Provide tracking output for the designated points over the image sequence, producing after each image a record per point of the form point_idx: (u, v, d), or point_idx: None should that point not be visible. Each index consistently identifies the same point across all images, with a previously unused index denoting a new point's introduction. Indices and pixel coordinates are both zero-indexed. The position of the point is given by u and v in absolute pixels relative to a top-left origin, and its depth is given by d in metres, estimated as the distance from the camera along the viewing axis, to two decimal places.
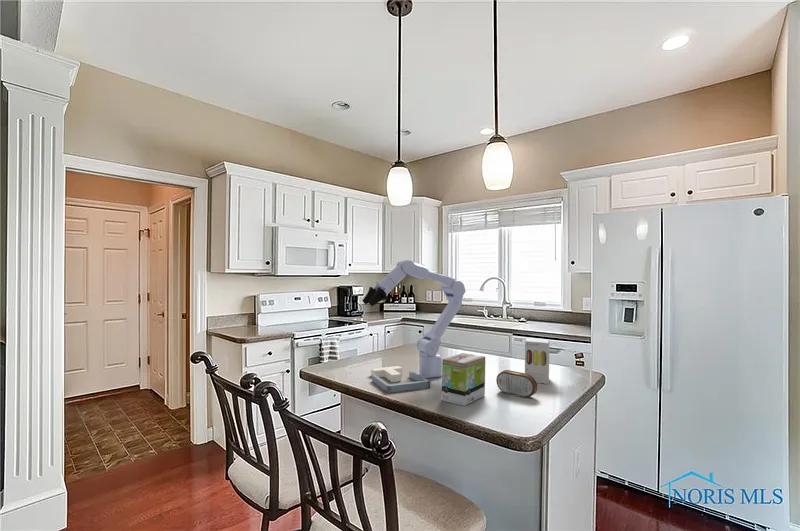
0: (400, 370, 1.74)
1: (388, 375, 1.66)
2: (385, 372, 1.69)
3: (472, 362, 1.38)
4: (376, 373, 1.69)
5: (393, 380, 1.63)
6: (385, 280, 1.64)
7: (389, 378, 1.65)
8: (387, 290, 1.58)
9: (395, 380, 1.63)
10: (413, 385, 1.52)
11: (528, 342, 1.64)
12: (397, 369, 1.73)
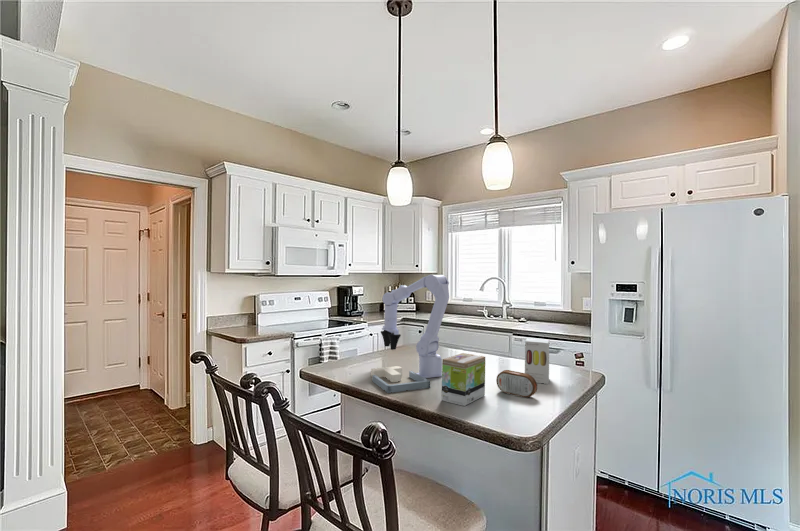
0: (400, 370, 1.74)
1: (388, 375, 1.66)
2: (385, 372, 1.69)
3: (472, 362, 1.38)
4: (376, 373, 1.69)
5: (393, 380, 1.63)
6: (387, 323, 1.82)
7: (389, 378, 1.65)
8: (396, 332, 1.78)
9: (395, 380, 1.63)
10: (413, 385, 1.52)
11: (528, 342, 1.64)
12: (397, 369, 1.73)
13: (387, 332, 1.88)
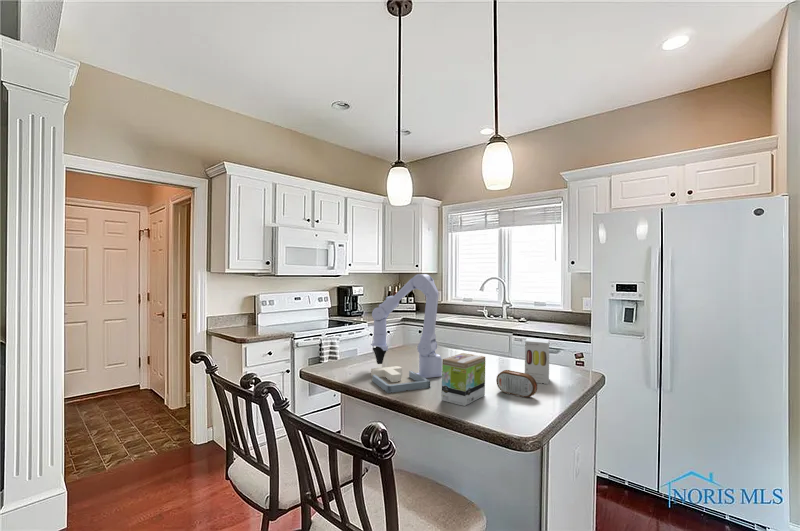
0: (400, 370, 1.74)
1: (388, 375, 1.66)
2: (385, 372, 1.69)
3: (472, 362, 1.38)
4: (376, 373, 1.69)
5: (393, 380, 1.63)
6: (376, 338, 1.79)
7: (389, 378, 1.65)
8: (385, 348, 1.74)
9: (395, 380, 1.63)
10: (413, 385, 1.52)
11: (528, 342, 1.64)
12: (397, 369, 1.73)
13: None
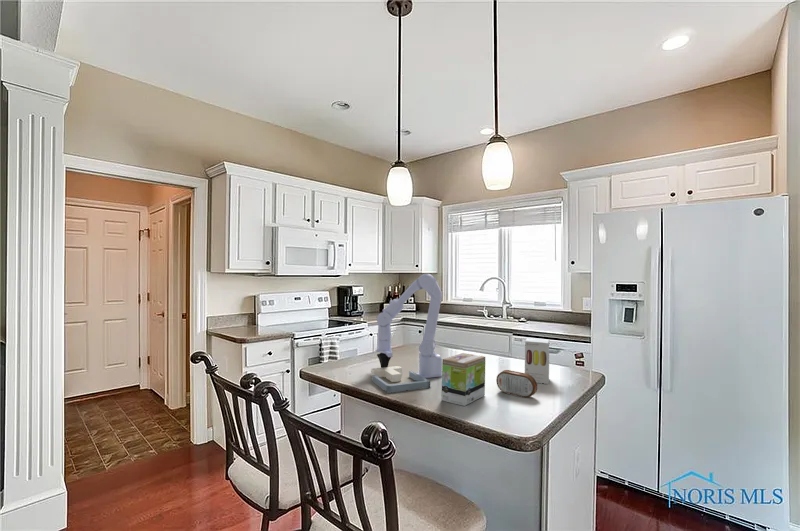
0: (400, 370, 1.74)
1: (388, 375, 1.66)
2: (385, 372, 1.69)
3: (472, 362, 1.38)
4: (376, 373, 1.69)
5: (393, 380, 1.63)
6: (381, 344, 1.74)
7: (389, 378, 1.65)
8: (389, 354, 1.69)
9: (395, 380, 1.63)
10: (413, 385, 1.52)
11: (528, 342, 1.64)
12: (397, 369, 1.73)
13: None
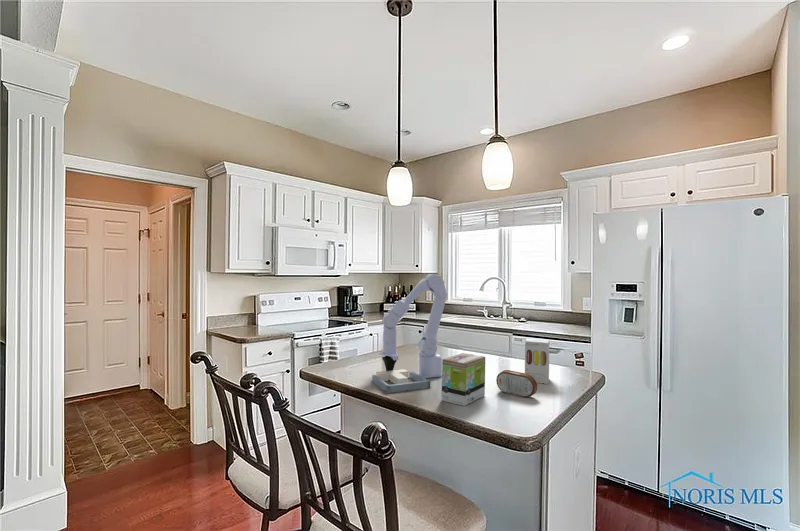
0: (406, 373, 1.68)
1: (394, 379, 1.60)
2: (391, 376, 1.63)
3: (472, 362, 1.38)
4: (381, 377, 1.63)
5: None
6: (386, 347, 1.68)
7: (395, 382, 1.59)
8: (395, 357, 1.64)
9: None
10: (413, 385, 1.52)
11: (528, 342, 1.64)
12: (403, 372, 1.67)
13: None
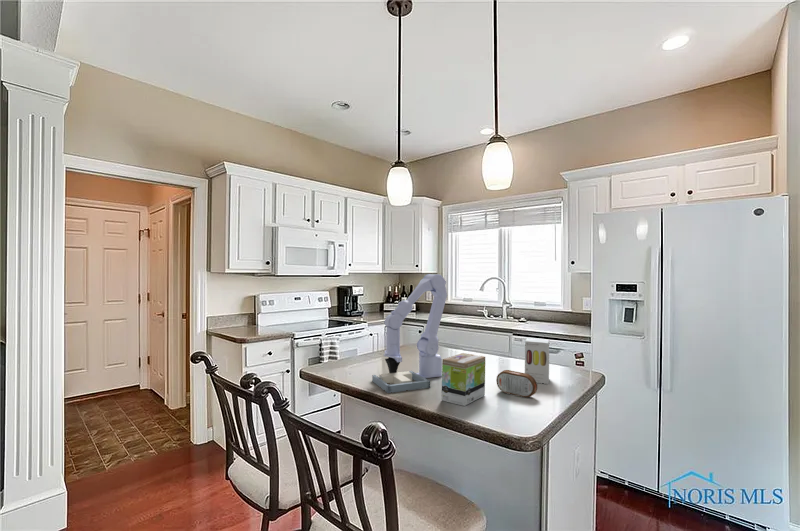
0: (410, 376, 1.64)
1: (398, 381, 1.57)
2: (394, 378, 1.60)
3: (472, 362, 1.38)
4: (385, 379, 1.60)
5: None
6: (389, 349, 1.65)
7: None
8: (399, 359, 1.60)
9: None
10: (413, 385, 1.52)
11: (528, 342, 1.64)
12: (407, 375, 1.64)
13: None
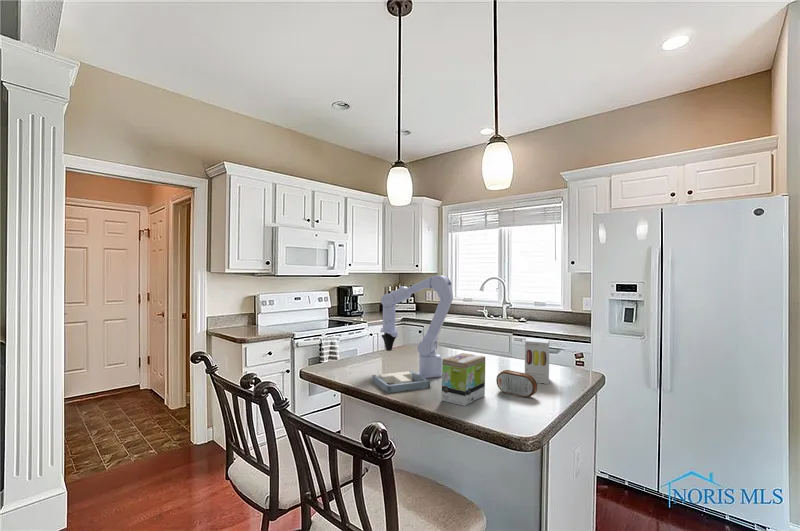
0: (410, 376, 1.64)
1: (398, 381, 1.57)
2: (394, 378, 1.60)
3: (472, 362, 1.38)
4: (385, 379, 1.60)
5: None
6: (385, 325, 1.77)
7: None
8: (395, 334, 1.73)
9: None
10: (413, 385, 1.52)
11: (528, 342, 1.64)
12: (407, 375, 1.64)
13: None
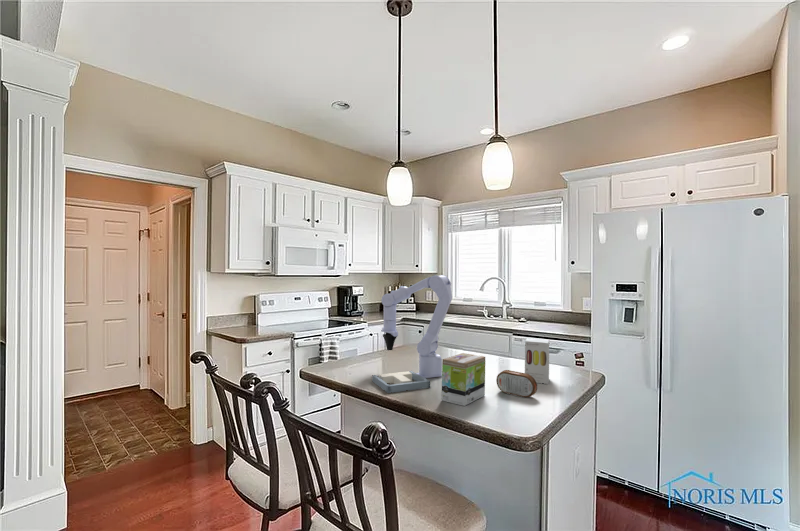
0: (410, 376, 1.64)
1: (398, 381, 1.57)
2: (394, 378, 1.60)
3: (472, 362, 1.38)
4: (385, 379, 1.60)
5: None
6: (386, 324, 1.79)
7: None
8: (395, 334, 1.74)
9: None
10: (413, 385, 1.52)
11: (528, 342, 1.64)
12: (407, 375, 1.64)
13: None
